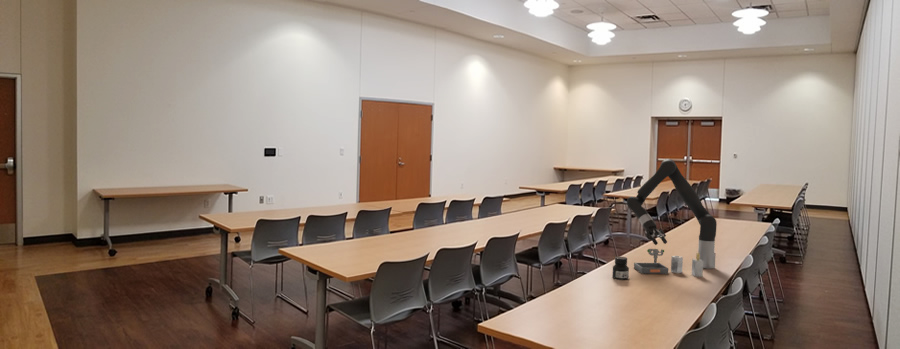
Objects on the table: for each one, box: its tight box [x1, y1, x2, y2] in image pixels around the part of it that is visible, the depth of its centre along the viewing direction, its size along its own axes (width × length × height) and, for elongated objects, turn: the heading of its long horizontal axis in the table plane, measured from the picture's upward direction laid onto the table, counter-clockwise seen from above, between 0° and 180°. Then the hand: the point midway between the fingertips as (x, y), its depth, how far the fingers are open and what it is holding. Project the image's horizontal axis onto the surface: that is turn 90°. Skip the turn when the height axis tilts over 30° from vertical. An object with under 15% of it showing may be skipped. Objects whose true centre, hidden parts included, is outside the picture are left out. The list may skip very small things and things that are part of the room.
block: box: [670, 255, 684, 274], centre depth 344 cm, size 4×4×10 cm
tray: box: [633, 262, 669, 275], centre depth 346 cm, size 16×14×4 cm
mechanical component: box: [646, 248, 665, 263], centre depth 363 cm, size 3×10×10 cm, turn 89°
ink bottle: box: [611, 256, 630, 281], centre depth 327 cm, size 10×9×12 cm
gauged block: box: [691, 252, 704, 278], centre depth 336 cm, size 4×4×14 cm
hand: (661, 243), depth 353 cm, fingers open, 8 cm apart
